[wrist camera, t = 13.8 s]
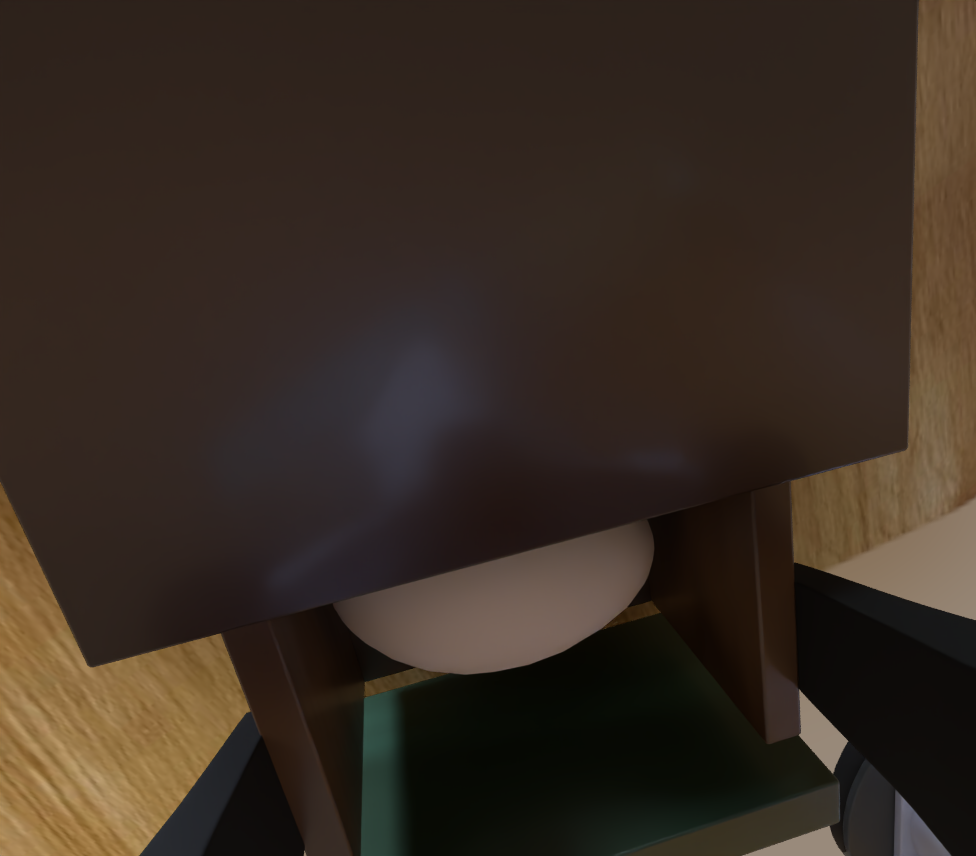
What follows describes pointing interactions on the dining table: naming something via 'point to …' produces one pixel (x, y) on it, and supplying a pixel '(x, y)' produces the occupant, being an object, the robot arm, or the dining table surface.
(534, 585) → the egg
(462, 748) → the drawer
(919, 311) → the dining table surface
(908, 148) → the cabinet
